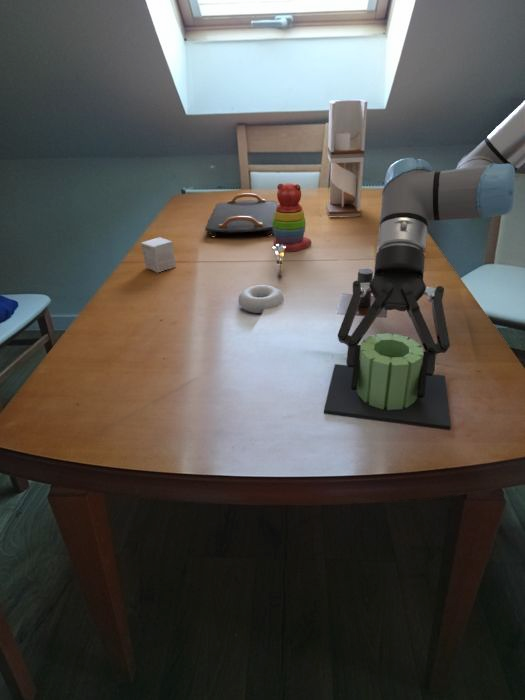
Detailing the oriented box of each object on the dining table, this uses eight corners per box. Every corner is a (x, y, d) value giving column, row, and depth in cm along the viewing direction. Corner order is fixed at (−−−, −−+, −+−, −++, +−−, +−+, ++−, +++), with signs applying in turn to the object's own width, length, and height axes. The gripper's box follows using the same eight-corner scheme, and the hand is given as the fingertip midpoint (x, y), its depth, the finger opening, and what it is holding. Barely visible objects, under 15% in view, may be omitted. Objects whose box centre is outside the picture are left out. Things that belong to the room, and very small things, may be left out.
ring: (285, 280, 115) (284, 249, 111) (272, 280, 115) (271, 249, 111) (286, 269, 121) (285, 239, 117) (274, 270, 121) (273, 240, 117)
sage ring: (415, 378, 76) (422, 335, 72) (416, 413, 68) (424, 368, 64) (359, 372, 78) (363, 330, 74) (354, 406, 70) (358, 361, 66)
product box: (145, 268, 126) (140, 242, 122) (163, 262, 130) (159, 236, 126) (157, 274, 122) (153, 247, 118) (176, 267, 126) (172, 240, 122)
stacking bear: (313, 242, 138) (313, 180, 129) (301, 254, 131) (301, 188, 121) (279, 239, 142) (278, 178, 133) (266, 250, 135) (263, 186, 125)
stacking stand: (387, 302, 102) (391, 263, 97) (385, 324, 93) (390, 282, 89) (341, 299, 104) (343, 261, 99) (335, 320, 96) (337, 279, 91)
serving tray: (277, 238, 143) (277, 218, 140) (203, 240, 144) (201, 221, 141) (278, 206, 176) (277, 189, 173) (217, 208, 178) (215, 192, 174)
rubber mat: (444, 378, 77) (445, 375, 76) (450, 429, 66) (451, 426, 66) (334, 366, 81) (334, 364, 81) (323, 413, 70) (323, 410, 70)
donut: (270, 293, 109) (231, 302, 105) (270, 279, 107) (230, 288, 103) (292, 309, 101) (250, 319, 97) (292, 294, 99) (250, 304, 96)
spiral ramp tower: (326, 209, 170) (329, 101, 152) (355, 208, 170) (362, 99, 152) (328, 217, 161) (332, 103, 142) (359, 216, 160) (367, 101, 142)
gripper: (330, 239, 73) (311, 379, 68) (479, 246, 68) (470, 397, 63) (333, 260, 80) (317, 387, 75) (468, 267, 75) (459, 405, 70)
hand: (386, 392), depth 69 cm, fingers closed on sage ring, 9 cm apart
